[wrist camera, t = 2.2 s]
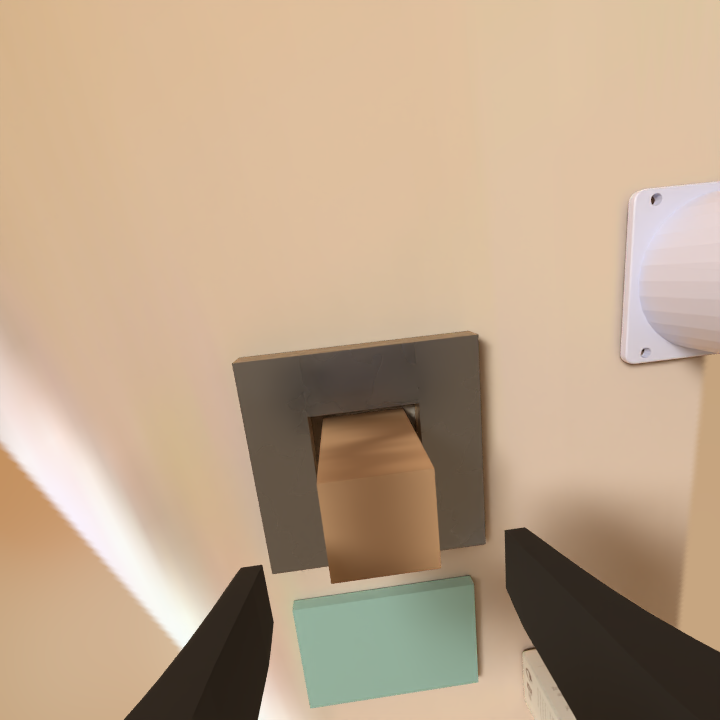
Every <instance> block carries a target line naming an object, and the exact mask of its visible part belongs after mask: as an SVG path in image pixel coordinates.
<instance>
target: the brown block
mask: <svg viewBox="0 0 720 720" xmlns="http://www.w3.org/2000/svg"><path fill="white" fill-rule="evenodd" d="M317 491H318V498H319V504H320V511H321V518H322V524H323V531H324V538H325V544H326V551H327V558H328V564H329V571H330V578H331V584H334V583H341V582H348V581H355V580H362V579H369V578H376V577H383V576H390V575H397V574H403V573H410V572H417V571H424V570H431V569H438V568H441V558H440V544H439V529H438V514H437V499H436V485H435V470H434V467H433V465H432V463H431V461H430V459H429V457H428V455H427V453H426V451H425V450H424V448H423V446H422V444H421V442H420V440H419V438H418V436H417V434H416V432H415V430H414V429H413V427H412V425H411V423H410V421H409V419H408V417H407V415H406V413H405V411H404V409H403V408H397V409H389V410H381V411H373V412H365V413H357V414H349V415H341V416H333V417H325V418H323V424H322V434H321V444H320V454H319V464H318V474H317Z"/></svg>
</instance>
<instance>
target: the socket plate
mask: <svg viewBox="0 0 720 720" xmlns="http://www.w3.org/2000/svg"><path fill="white" fill-rule="evenodd" d="M232 366H233V371H234V376H235V382H236V387H237V392H238V397H239V402H240V408H241V413H242V418H243V423H244V428H245V434H246V439H247V444H248V449H249V454H250V460H251V465H252V470H253V475H254V481H255V486H256V491H257V496H258V501H259V507H260V512H261V517H262V522H263V527H264V533H265V538H266V543H267V548H268V553H269V559H270V564H271V569H272V574H277V573H284V572H291V571H299V570H306V569H313V568H320V567H327V566H329V564H328V558H327V551H326V544H325V538H324V531H323V524H322V518H321V511H320V504H319V498H318V491H317V474H318V464H317V457H316V450H315V443H314V436H313V430H312V423H311V417H313V416H321V415H329V414H337V413H345V412H353V411H361V410H369V409H377V408H385V407H393V406H401V405H409V404H414V405H415V418H416V430H417V436H418V438H419V440H420V442H421V444H422V446H423V448H424V450H425V451H426V453H427V455H428V457H429V459H430V461H431V463H432V465H433V467H434V470H435V485H436V499H437V514H438V529H439V544H440V551H441V550H448V549H455V548H462V547H469V546H476V545H483V544H486V542H485V513H484V485H483V456H482V428H481V400H480V371H479V343H478V334H476V333H473V332H470V331H464V332H455V333H447V334H438V335H430V336H421V337H412V338H404V339H395V340H387V341H378V342H370V343H361V344H353V345H344V346H336V347H327V348H319V349H310V350H302V351H293V352H285V353H276V354H268V355H259V356H251V357H242V358H238V359H237V360H236V361H235V362H233V363H232Z"/></svg>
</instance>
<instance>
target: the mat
mask: <svg viewBox="0 0 720 720" xmlns="http://www.w3.org/2000/svg"><path fill="white" fill-rule="evenodd" d="M293 615H294V621H295V626H296V632H297V637H298V643H299V648H300V654H301V659H302V665H303V670H304V676H305V681H306V687H307V692H308V698H309V703H310V708H316V707H323V706H329V705H336V704H342V703H348V702H355V701H361V700H368V699H374V698H381V697H387V696H393V695H400V694H406V693H413V692H419V691H425V690H432V689H438V688H445V687H451V686H458V685H464V684H470V683H477V682H478V664H477V642H476V619H475V597H474V583H473V581H472V579H471V577H470V576H463V577H456V578H449V579H442V580H435V581H428V582H421V583H415V584H408V585H401V586H394V587H387V588H380V589H373V590H366V591H359V592H352V593H345V594H338V595H331V596H324V597H317V598H310V599H303V600H297V601H294V604H293Z"/></svg>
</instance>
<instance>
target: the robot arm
mask: <svg viewBox="0 0 720 720" xmlns="http://www.w3.org/2000/svg"><path fill="white" fill-rule="evenodd" d="M652 196H653V197H654V200H655V201H654V204H653V205H652V204H651V198H652ZM643 349H644V353H643V354H642V356H641V351H642V350H643ZM620 354H621V358H622V360H623V361H625V362H627V363H630V364H638V363H646V362H654V361H662V360H670V359H678V358H687V357H695V356H703V355H711V354H720V181H716V182H706V183H697V184H687V185H678V186H668V187H658V188H649V189H643V190H640V191H637V192H635V193H634V194H633V195H632V196H631V198H630V200H629V205H628V224H627V242H626V261H625V279H624V298H623V316H622V335H621V353H620ZM505 563H506V589H507V591H508V593H509V596H510V598H511V600H512V603H513V605H514V607H515V610H516V612H517V614H518V616H519V618H520V621H521V623H522V625H523V627H524V629H525V630H526V632H527V634H528V636H529V638H530V639H531V641H532V643H533V645H534V646H535V648H536V650H537V652H538V654H539V655H540V657H541V659H542V661H543V662H544V664H545V666H546V668H547V669H548V671H549V673H550V674H551V676H552V678H553V680H554V681H555V683H556V685H557V687H558V688H559V690H560V692H561V694H562V695H563V697H564V699H565V701H566V702H567V704H568V706H569V708H570V709H571V711H572V713H573V714H574V716H575V718H576V720H720V652H718V651H716V650H714V649H713V648H711V647H709V646H707V645H705V644H703V643H701V642H700V641H698V640H695V639H694V638H692V637H691V636H689V635H687V634H685V633H683V632H682V631H680V630H678V629H676V628H675V627H673V626H671V625H669V624H668V623H666V622H664V621H662V620H660V619H659V618H657V617H655V616H654V615H652V614H650V613H649V612H647V611H645V610H644V609H642V608H641V607H639V606H637V605H636V604H634V603H633V602H631V601H630V600H628V599H626V598H625V597H623V596H622V595H620V594H619V593H617V592H615V591H614V590H612V589H611V588H609V587H608V586H606V585H605V584H603V583H602V582H600V581H599V580H597V579H596V578H595V577H593V576H592V575H590V574H589V573H587V572H586V571H584V570H583V569H582V568H580V567H579V566H577V565H576V564H575V563H573V562H572V561H570V560H569V559H568V558H566V557H565V556H563V555H562V554H561V553H559V552H558V551H557V550H555V549H554V548H552V547H551V546H550V545H548V544H547V543H546V542H544V541H543V540H542V539H540V538H539V537H537V536H536V535H535V534H533V533H532V532H531V531H529V530H528V529H526V528H518V529H511V530H505ZM273 623H274V622H273V617H272V612H271V607H270V602H269V597H268V592H267V586H266V581H265V576H264V571H263V566H262V565H257V566H250V567H243V568H241V569H240V570H239V571H238V572H237V574H236V575H235V577H234V578H233V580H232V581H231V582H230V584H229V585H228V587H227V588H226V590H225V591H224V593H223V594H222V595H221V597H220V598H219V600H218V601H217V603H216V604H215V605H214V607H213V608H212V610H211V611H210V613H209V614H208V615H207V617H206V618H205V619H204V621H203V622H202V624H201V625H200V626H199V628H198V629H197V630H196V632H195V633H194V634H193V636H192V637H191V639H190V640H189V641H188V643H187V644H186V645H185V647H184V648H183V649H182V650H181V652H180V653H179V654H178V655H177V657H176V658H175V659H174V660H173V662H172V663H171V664H170V665H169V667H168V668H167V669H166V671H165V672H164V673H163V675H162V676H161V677H160V678H159V679H158V681H157V682H156V683H155V684H154V685H153V687H152V688H151V689H150V690H149V691H148V692H147V694H146V695H145V696H144V697H143V698H142V700H141V701H140V702H139V703H138V704H137V705H136V706H135V708H134V709H133V710H132V711H131V712H130V714H128V715H127V717H126V718H125V719H124V720H258V715H259V711H260V706H261V701H262V696H263V692H264V687H265V682H266V677H267V672H268V667H269V660H270V651H271V643H272V633H273Z"/></svg>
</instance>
